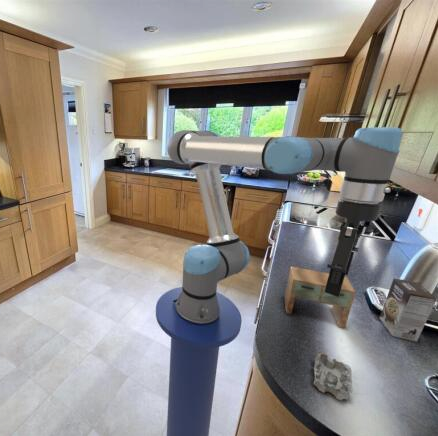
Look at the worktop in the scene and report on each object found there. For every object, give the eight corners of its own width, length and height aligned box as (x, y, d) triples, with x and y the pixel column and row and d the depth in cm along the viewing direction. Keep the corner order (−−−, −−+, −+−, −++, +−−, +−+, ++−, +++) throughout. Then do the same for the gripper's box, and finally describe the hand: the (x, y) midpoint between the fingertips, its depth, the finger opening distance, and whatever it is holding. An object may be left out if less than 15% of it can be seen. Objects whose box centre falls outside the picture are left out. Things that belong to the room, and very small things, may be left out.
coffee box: (378, 318, 85) (392, 277, 80) (401, 322, 82) (418, 281, 78) (391, 336, 77) (408, 292, 72) (418, 342, 74) (438, 297, 69)
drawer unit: (286, 313, 87) (293, 279, 82) (284, 297, 95) (290, 266, 91) (344, 328, 80) (356, 292, 75) (336, 310, 88) (346, 276, 84)
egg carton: (314, 358, 69) (317, 347, 67) (348, 374, 64) (352, 362, 63) (310, 387, 60) (313, 374, 59) (348, 406, 56) (353, 393, 55)
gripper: (378, 214, 44) (348, 313, 50) (384, 195, 60) (361, 270, 67) (328, 207, 49) (306, 297, 55) (347, 190, 65) (328, 261, 72)
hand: (336, 282), depth 61 cm, fingers open, 13 cm apart
